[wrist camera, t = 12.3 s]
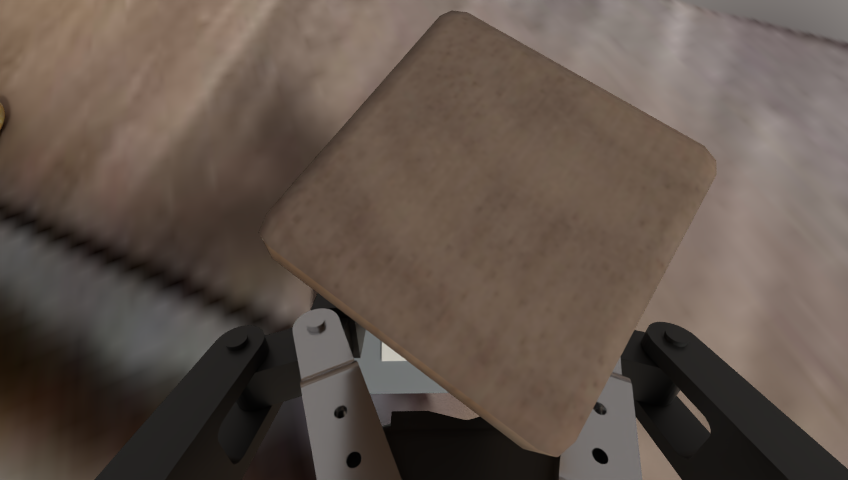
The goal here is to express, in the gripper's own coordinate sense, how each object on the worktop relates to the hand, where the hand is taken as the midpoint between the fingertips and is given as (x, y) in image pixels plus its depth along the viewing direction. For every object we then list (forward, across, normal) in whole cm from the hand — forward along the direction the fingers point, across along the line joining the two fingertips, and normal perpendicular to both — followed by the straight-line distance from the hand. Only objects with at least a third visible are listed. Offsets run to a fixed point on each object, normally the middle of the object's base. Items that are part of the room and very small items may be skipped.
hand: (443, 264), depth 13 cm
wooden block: (+7, -1, +6) cm, 9 cm away
